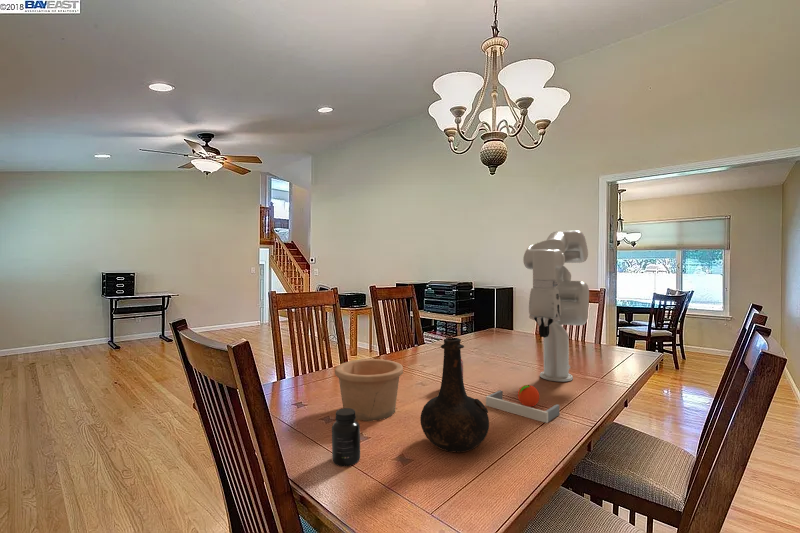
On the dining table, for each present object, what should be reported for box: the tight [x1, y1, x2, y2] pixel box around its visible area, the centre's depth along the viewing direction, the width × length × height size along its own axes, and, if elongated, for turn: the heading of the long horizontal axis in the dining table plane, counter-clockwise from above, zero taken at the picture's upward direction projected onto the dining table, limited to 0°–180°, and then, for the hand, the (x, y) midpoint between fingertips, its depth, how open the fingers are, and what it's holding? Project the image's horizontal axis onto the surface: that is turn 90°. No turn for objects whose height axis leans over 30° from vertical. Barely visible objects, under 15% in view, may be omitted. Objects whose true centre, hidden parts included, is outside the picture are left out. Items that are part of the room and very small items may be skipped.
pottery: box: [334, 358, 404, 422], centre depth 130 cm, size 22×22×14 cm
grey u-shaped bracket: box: [485, 389, 560, 424], centre depth 130 cm, size 9×21×3 cm, turn 45°
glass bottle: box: [419, 337, 490, 453], centre depth 106 cm, size 18×18×28 cm
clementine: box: [517, 384, 540, 408], centre depth 133 cm, size 8×7×7 cm
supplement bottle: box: [331, 407, 361, 467], centre depth 98 cm, size 7×7×12 cm
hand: (544, 336), depth 142 cm, fingers closed
